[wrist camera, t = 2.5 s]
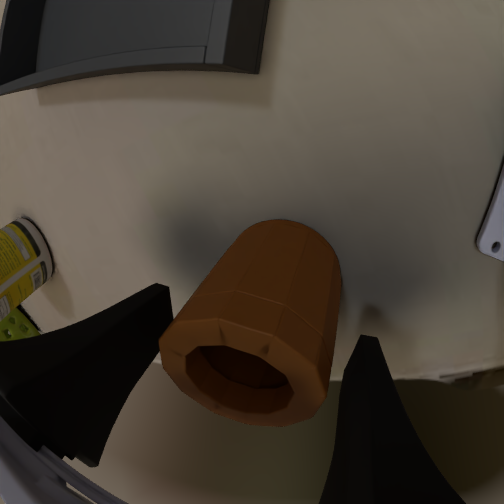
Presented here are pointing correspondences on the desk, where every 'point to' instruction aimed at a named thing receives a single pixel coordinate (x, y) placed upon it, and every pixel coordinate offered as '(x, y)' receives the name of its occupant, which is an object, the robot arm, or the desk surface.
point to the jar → (260, 328)
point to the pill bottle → (21, 263)
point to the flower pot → (16, 327)
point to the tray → (126, 38)
